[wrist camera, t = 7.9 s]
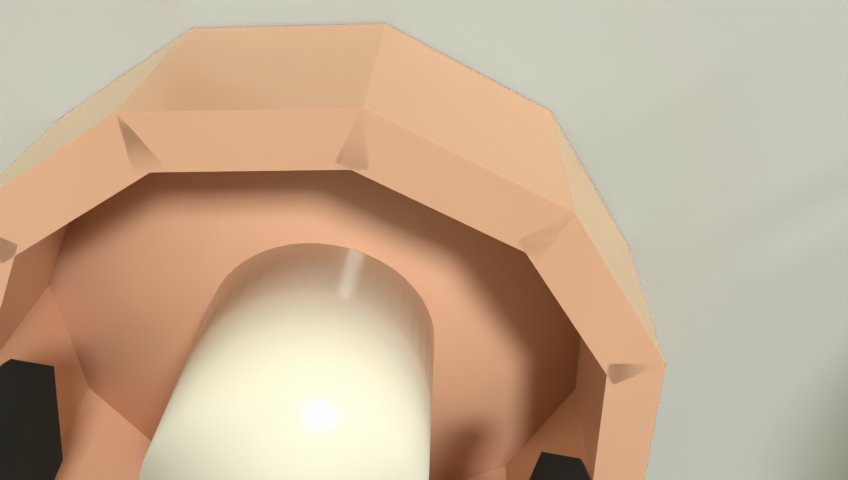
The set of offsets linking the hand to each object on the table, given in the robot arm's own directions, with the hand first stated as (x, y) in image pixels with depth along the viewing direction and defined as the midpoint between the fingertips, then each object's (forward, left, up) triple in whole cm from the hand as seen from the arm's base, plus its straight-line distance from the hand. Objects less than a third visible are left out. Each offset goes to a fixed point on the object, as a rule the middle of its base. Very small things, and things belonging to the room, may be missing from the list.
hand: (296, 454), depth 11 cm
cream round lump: (0, 0, -3) cm, 3 cm away
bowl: (0, 0, -3) cm, 3 cm away
